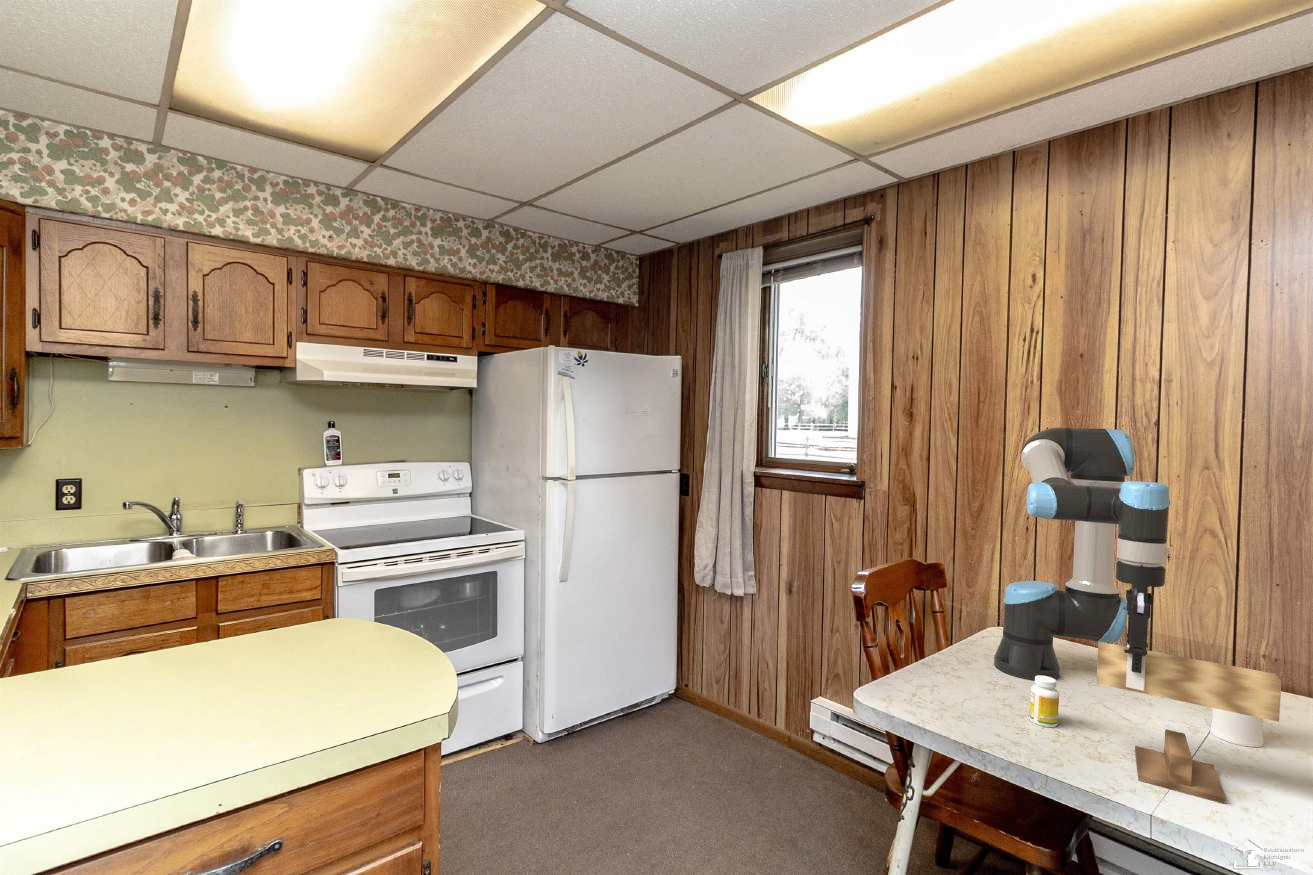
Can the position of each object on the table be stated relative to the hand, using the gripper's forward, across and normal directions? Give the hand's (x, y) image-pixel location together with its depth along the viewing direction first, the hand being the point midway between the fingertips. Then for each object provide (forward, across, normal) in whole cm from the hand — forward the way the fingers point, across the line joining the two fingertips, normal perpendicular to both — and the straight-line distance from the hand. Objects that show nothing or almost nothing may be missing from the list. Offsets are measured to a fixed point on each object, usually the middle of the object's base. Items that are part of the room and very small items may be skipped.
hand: (1134, 683), depth 125 cm
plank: (+1, 0, -7) cm, 7 cm away
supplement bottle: (+16, +10, +15) cm, 24 cm away
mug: (+15, +30, -19) cm, 39 cm away
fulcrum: (+15, 0, -7) cm, 17 cm away
